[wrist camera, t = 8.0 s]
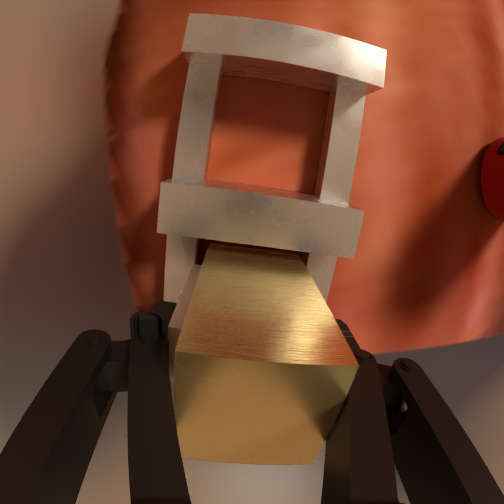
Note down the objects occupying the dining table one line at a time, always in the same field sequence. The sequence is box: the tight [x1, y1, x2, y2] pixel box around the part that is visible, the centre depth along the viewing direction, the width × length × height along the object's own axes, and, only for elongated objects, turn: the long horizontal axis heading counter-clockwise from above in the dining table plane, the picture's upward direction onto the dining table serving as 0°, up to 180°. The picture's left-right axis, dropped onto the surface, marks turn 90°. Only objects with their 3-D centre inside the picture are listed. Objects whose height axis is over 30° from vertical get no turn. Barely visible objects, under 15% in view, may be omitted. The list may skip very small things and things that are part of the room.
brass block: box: [174, 243, 359, 465], centre depth 13 cm, size 5×5×10 cm
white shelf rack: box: [157, 13, 387, 303], centre depth 17 cm, size 20×10×4 cm, turn 172°
